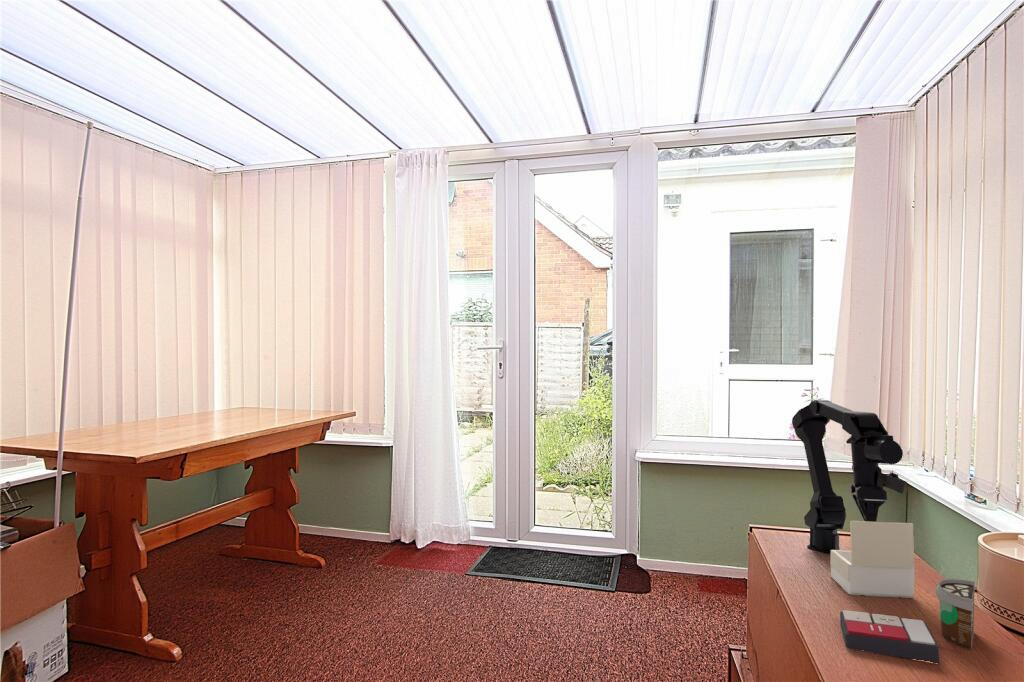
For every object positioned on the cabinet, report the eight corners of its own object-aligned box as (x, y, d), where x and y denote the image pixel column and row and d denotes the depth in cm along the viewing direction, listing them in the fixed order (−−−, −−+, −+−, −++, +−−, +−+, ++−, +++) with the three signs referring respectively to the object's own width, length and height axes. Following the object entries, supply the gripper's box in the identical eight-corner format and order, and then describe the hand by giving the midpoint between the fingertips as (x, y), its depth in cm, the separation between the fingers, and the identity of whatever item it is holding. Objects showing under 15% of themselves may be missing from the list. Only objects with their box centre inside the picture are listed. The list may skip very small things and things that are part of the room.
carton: (829, 578, 151) (830, 549, 151) (891, 581, 150) (892, 552, 150) (848, 594, 141) (848, 564, 141) (914, 598, 140) (915, 567, 140)
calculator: (839, 607, 127) (925, 617, 121) (840, 628, 127) (925, 639, 121) (845, 630, 117) (939, 642, 111) (846, 652, 117) (940, 666, 111)
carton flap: (850, 520, 142) (851, 521, 141) (911, 523, 141) (913, 523, 140) (851, 564, 141) (852, 565, 140) (913, 567, 140) (914, 568, 139)
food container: (937, 620, 129) (938, 573, 129) (973, 629, 125) (974, 580, 125) (931, 642, 119) (932, 591, 119) (970, 653, 115) (971, 600, 115)
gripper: (909, 464, 143) (915, 533, 140) (896, 461, 160) (901, 523, 157) (855, 463, 147) (860, 530, 145) (847, 460, 164) (852, 520, 162)
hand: (870, 525), depth 152 cm, fingers open, 9 cm apart
